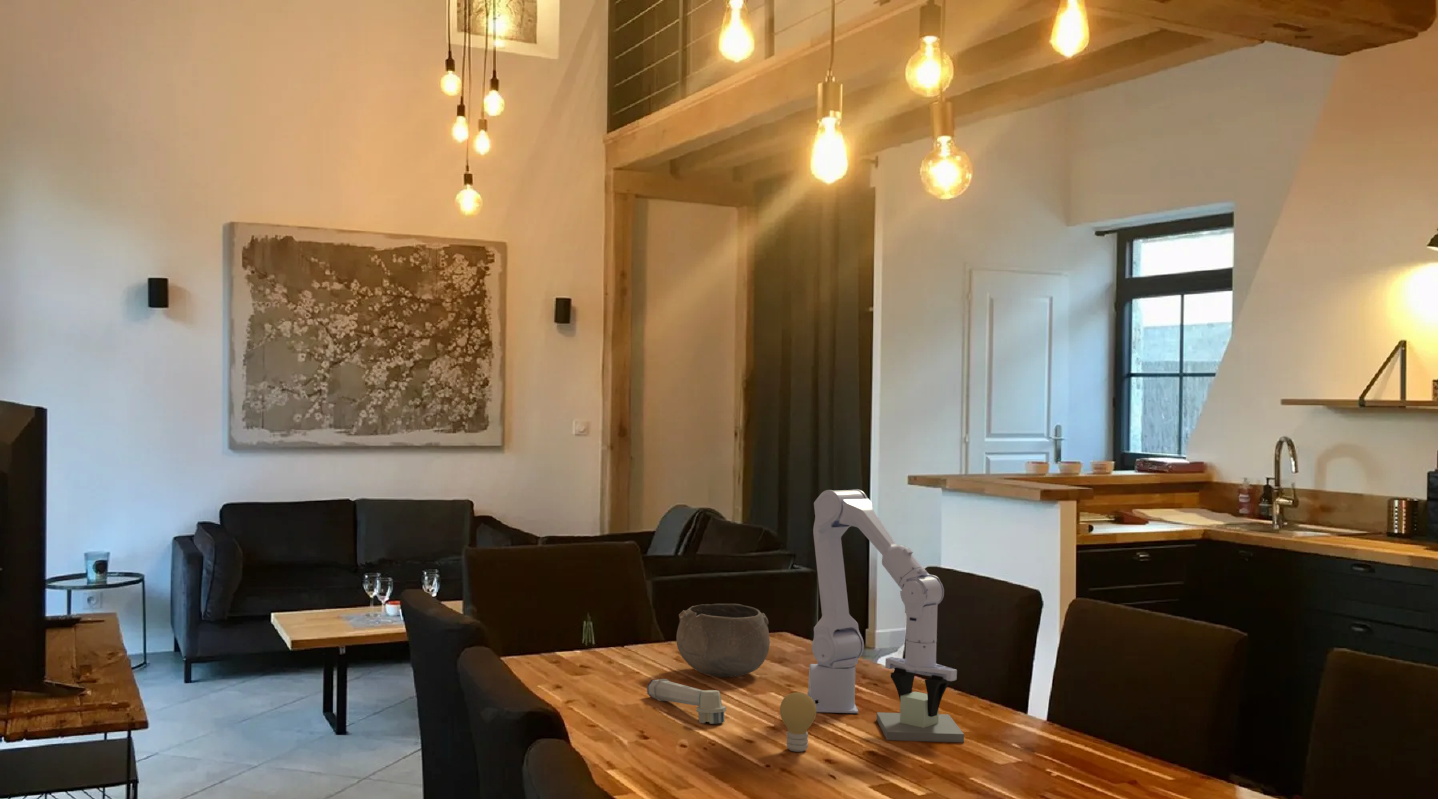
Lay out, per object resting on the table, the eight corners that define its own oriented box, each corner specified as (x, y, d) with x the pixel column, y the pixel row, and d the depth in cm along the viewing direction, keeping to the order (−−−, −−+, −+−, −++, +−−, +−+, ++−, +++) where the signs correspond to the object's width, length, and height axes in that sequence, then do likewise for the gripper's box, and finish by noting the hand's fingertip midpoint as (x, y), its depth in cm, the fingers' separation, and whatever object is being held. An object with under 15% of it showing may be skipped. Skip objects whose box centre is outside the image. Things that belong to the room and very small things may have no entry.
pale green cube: (899, 722, 216) (900, 695, 216) (914, 717, 220) (915, 691, 220) (923, 727, 213) (924, 700, 213) (938, 722, 217) (938, 696, 217)
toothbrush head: (665, 676, 239) (730, 685, 218) (666, 709, 238) (732, 721, 217) (643, 679, 236) (707, 688, 215) (644, 712, 235) (708, 724, 214)
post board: (887, 740, 209) (887, 712, 209) (876, 720, 223) (877, 694, 223) (963, 742, 209) (964, 714, 209) (948, 722, 223) (949, 696, 223)
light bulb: (820, 754, 199) (822, 696, 199) (786, 756, 197) (787, 697, 197) (807, 744, 205) (809, 687, 205) (773, 745, 203) (775, 689, 204)
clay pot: (785, 673, 262) (786, 607, 263) (737, 690, 245) (739, 619, 245) (707, 660, 274) (709, 597, 274) (657, 675, 256) (659, 608, 256)
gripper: (877, 637, 218) (875, 708, 218) (943, 649, 209) (941, 724, 208) (897, 632, 224) (895, 702, 223) (963, 644, 214) (961, 717, 214)
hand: (919, 712), depth 216 cm, fingers closed on pale green cube, 5 cm apart
